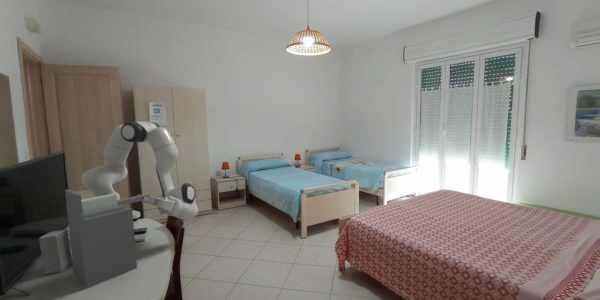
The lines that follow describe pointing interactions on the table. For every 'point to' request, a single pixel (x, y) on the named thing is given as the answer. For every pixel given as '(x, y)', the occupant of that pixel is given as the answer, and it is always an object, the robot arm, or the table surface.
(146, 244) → the table surface
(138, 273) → the table surface
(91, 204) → the pale block gray handle
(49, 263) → the skincare box
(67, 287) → the table surface
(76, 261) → the caddy bay
